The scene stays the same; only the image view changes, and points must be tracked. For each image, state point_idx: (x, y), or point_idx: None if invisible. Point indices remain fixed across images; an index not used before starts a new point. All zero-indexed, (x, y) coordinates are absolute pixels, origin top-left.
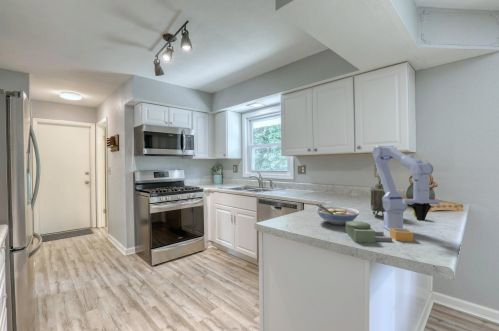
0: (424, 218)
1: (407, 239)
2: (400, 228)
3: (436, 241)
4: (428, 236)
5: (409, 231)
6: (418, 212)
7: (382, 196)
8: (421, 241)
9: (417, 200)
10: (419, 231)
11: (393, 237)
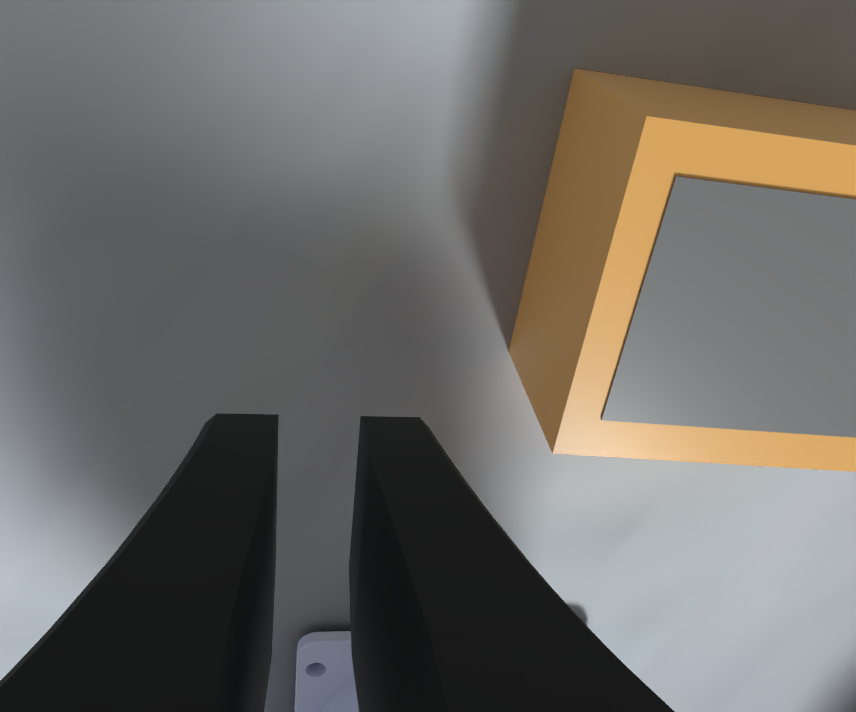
0: (222, 463)
1: (700, 94)
2: (690, 458)
3: (9, 75)
4: (12, 417)
5: (679, 213)
6: (647, 690)
7: None
8: (388, 61)
9: None
10: None
11: None
